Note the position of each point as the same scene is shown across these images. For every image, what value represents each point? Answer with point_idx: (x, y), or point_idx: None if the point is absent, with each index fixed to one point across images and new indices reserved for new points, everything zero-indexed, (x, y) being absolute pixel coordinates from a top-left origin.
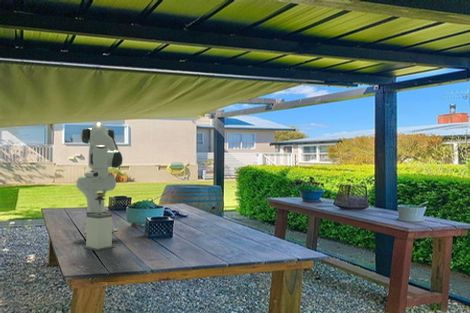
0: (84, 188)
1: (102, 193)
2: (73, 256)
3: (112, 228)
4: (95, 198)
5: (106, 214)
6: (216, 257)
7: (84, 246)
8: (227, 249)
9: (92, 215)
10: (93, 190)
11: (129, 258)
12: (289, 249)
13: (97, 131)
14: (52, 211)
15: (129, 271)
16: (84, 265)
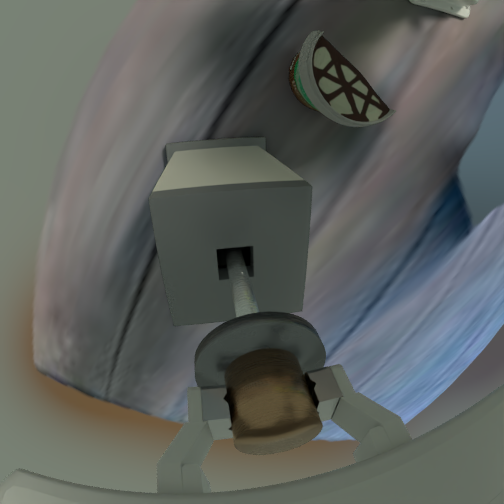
0: (9, 486)
1: (289, 444)
2: (75, 243)
3: (459, 4)
4: (214, 354)
5: (263, 303)
6: None
7: (169, 146)
8: (387, 388)
9: (161, 270)
10: (161, 483)
11: None
12: (411, 410)
13: None
14: None
15: (139, 411)
16: (74, 341)
